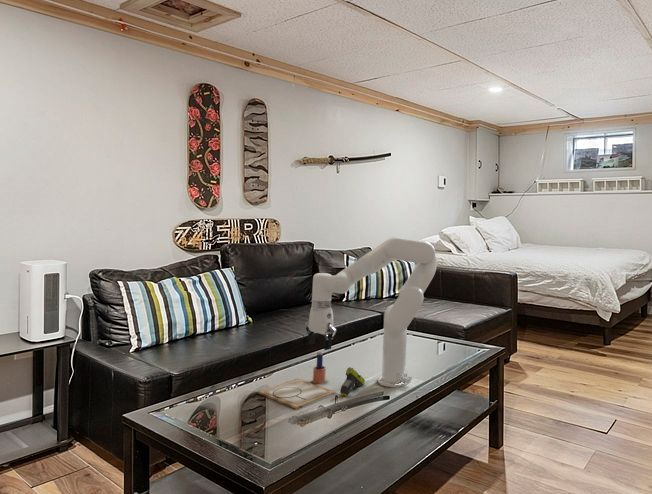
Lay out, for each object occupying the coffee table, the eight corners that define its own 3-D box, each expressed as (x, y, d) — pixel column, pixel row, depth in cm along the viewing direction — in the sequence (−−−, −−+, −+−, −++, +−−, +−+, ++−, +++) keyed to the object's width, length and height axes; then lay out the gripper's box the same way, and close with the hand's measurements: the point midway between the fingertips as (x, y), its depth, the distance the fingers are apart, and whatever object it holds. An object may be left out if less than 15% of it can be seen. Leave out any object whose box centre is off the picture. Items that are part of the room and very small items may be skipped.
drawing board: (335, 394, 186) (335, 391, 186) (296, 409, 171) (296, 406, 171) (297, 380, 199) (298, 378, 199) (258, 393, 184) (258, 390, 184)
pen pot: (327, 382, 198) (328, 367, 198) (318, 385, 194) (318, 370, 194) (319, 379, 201) (320, 365, 201) (310, 382, 197) (310, 367, 197)
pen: (323, 381, 198) (324, 351, 197) (318, 382, 196) (319, 352, 196) (319, 379, 199) (320, 350, 199) (315, 381, 197) (316, 351, 197)
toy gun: (357, 404, 191) (366, 379, 197) (343, 393, 180) (352, 366, 186) (352, 403, 192) (360, 378, 198) (337, 392, 181) (347, 365, 187)
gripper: (343, 306, 195) (341, 349, 195) (314, 299, 205) (312, 340, 205) (328, 309, 189) (326, 353, 189) (299, 302, 199) (297, 344, 199)
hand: (319, 346), depth 197 cm, fingers open, 9 cm apart
